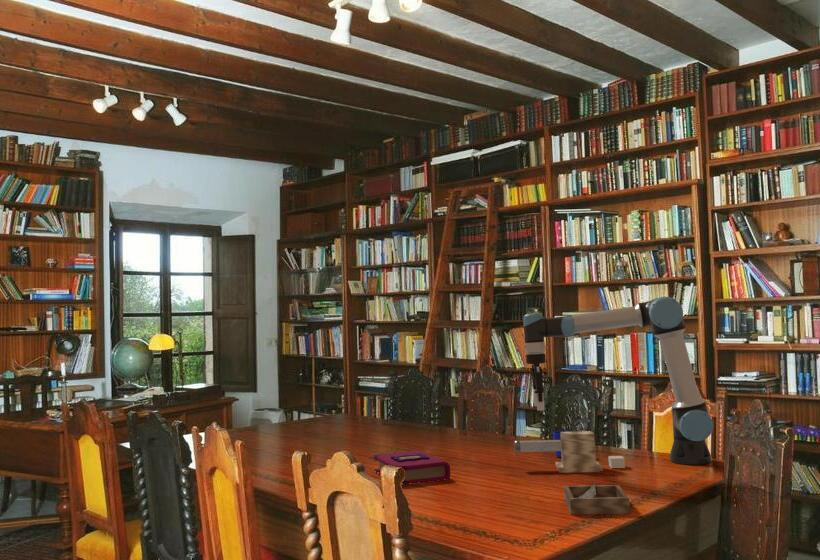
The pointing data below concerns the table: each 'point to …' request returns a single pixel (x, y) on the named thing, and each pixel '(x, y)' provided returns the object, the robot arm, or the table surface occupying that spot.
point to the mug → (557, 437)
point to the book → (416, 466)
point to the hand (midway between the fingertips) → (539, 408)
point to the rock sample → (590, 493)
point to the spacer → (616, 461)
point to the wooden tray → (597, 500)
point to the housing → (578, 453)
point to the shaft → (538, 445)
